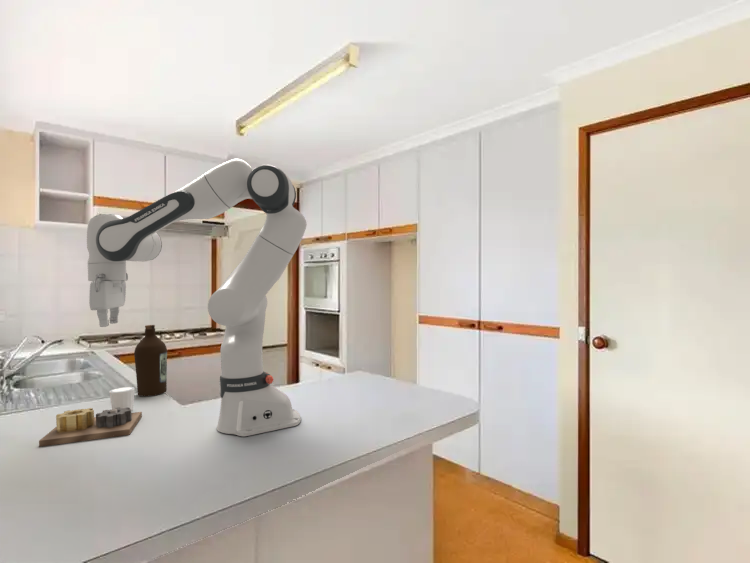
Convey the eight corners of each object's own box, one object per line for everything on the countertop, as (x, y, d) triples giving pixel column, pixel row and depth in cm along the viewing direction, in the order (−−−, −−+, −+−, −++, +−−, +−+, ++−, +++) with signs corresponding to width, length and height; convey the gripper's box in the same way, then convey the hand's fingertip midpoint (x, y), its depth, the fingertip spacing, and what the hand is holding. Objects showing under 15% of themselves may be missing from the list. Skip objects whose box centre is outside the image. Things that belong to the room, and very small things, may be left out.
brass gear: (97, 421, 119) (97, 407, 119) (89, 429, 112) (89, 414, 112) (62, 425, 116) (61, 411, 116) (52, 433, 110) (51, 418, 110)
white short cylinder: (123, 415, 129) (122, 392, 129) (104, 414, 130) (103, 391, 130) (140, 408, 135) (139, 386, 135) (122, 407, 137) (121, 386, 137)
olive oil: (131, 398, 147) (128, 327, 147) (141, 390, 158) (138, 324, 158) (164, 395, 150) (161, 325, 150) (171, 388, 160) (169, 323, 160)
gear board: (141, 416, 126) (141, 400, 126) (129, 434, 111) (129, 416, 111) (63, 426, 120) (62, 408, 120) (39, 446, 105) (38, 426, 105)
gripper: (110, 273, 105) (112, 328, 105) (129, 274, 125) (130, 321, 125) (80, 274, 103) (82, 329, 103) (104, 275, 123) (106, 322, 123)
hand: (109, 325), depth 114 cm, fingers open, 8 cm apart
